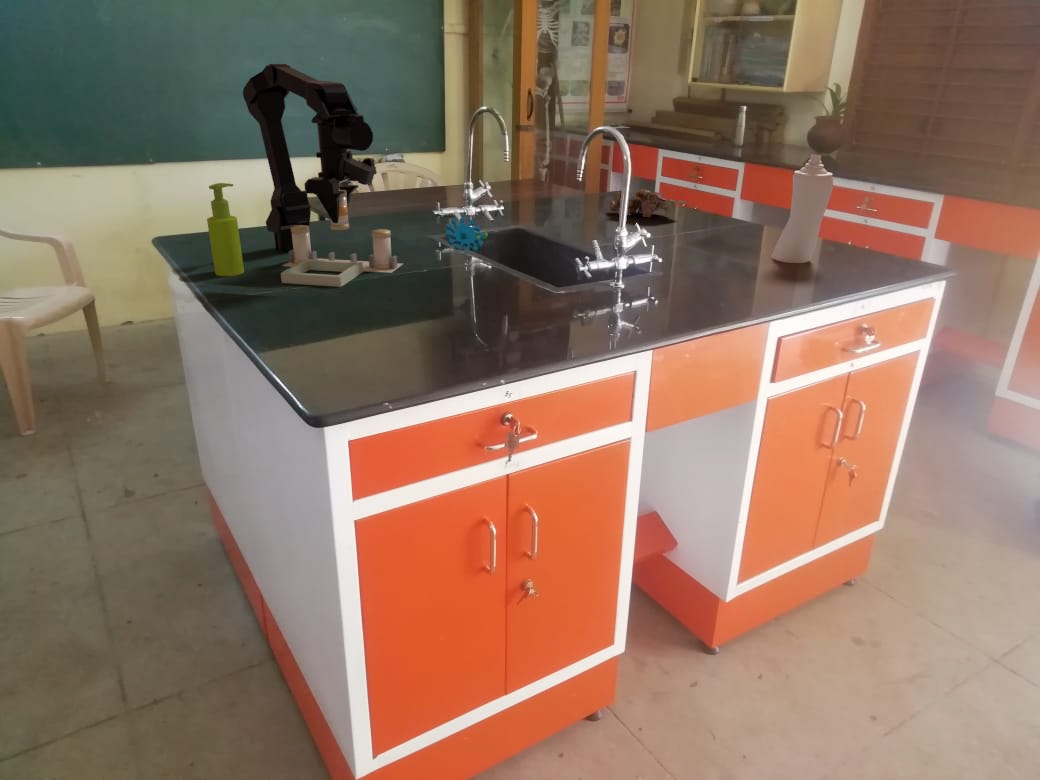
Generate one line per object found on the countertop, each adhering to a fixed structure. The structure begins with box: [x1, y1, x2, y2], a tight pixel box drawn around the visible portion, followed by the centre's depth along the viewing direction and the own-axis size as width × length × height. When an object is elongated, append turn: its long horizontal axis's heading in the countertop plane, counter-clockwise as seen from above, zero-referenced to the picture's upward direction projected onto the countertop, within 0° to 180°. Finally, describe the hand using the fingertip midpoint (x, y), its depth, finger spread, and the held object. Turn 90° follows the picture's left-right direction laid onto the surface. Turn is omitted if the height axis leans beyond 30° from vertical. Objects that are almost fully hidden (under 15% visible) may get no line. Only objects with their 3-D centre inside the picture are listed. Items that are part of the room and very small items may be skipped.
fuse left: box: [291, 225, 312, 264], centre depth 172 cm, size 4×4×8 cm
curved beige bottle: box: [771, 153, 834, 264], centre depth 181 cm, size 12×11×25 cm
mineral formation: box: [609, 188, 686, 218], centre depth 232 cm, size 23×16×10 cm
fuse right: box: [371, 228, 392, 270], centre depth 169 cm, size 4×4×8 cm
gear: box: [444, 217, 489, 252], centre depth 193 cm, size 11×6×10 cm
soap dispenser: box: [206, 182, 245, 277], centre depth 162 cm, size 6×7×20 cm
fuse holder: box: [281, 250, 404, 274], centre depth 172 cm, size 26×8×4 cm, turn 79°
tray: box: [280, 259, 364, 295], centre depth 162 cm, size 13×12×4 cm
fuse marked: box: [329, 190, 350, 231], centre depth 167 cm, size 4×4×8 cm
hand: (339, 221), depth 168 cm, fingers closed on fuse marked, 4 cm apart
